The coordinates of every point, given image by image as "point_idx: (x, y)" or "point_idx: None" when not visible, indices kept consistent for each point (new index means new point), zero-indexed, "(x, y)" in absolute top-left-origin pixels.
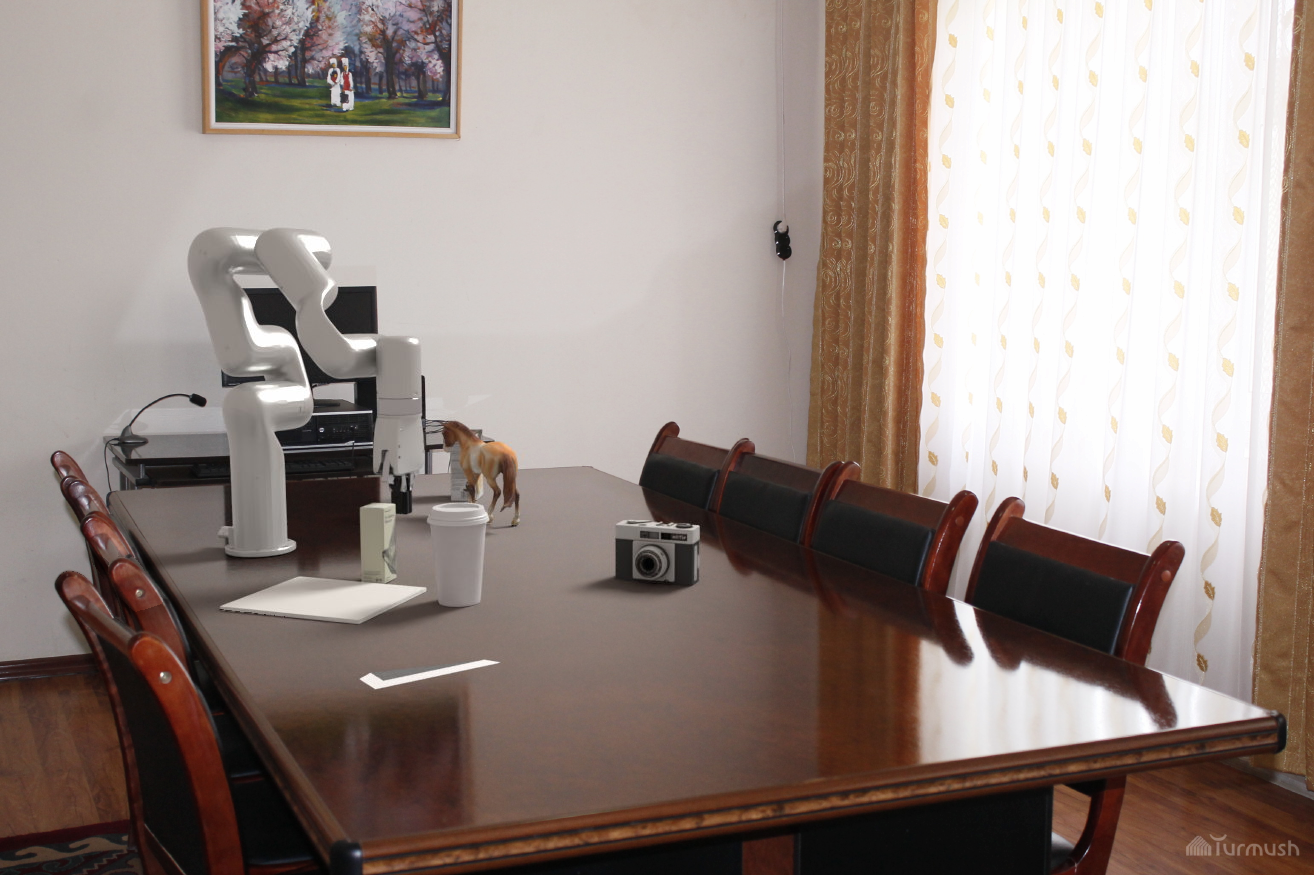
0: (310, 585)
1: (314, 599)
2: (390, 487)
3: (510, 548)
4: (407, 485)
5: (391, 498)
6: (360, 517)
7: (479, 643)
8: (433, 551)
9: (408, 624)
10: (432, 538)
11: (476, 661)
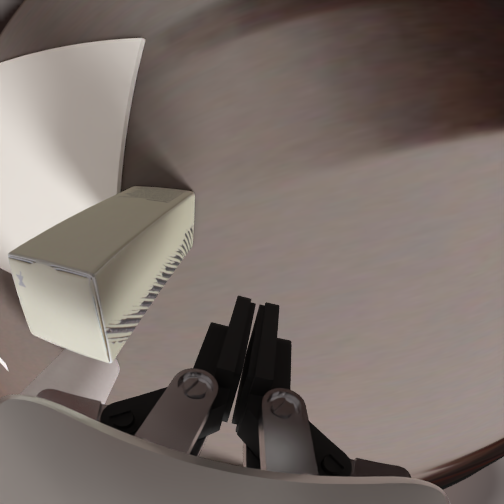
0: (78, 106)
1: (20, 168)
2: (151, 392)
3: (442, 375)
4: (245, 444)
5: (226, 338)
6: (30, 240)
7: (20, 364)
8: (35, 378)
9: (17, 311)
10: (22, 391)
11: (1, 359)
